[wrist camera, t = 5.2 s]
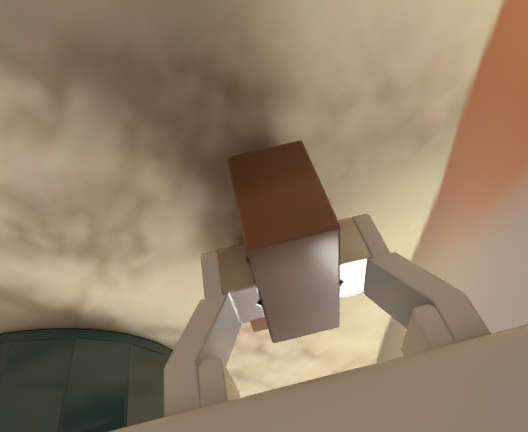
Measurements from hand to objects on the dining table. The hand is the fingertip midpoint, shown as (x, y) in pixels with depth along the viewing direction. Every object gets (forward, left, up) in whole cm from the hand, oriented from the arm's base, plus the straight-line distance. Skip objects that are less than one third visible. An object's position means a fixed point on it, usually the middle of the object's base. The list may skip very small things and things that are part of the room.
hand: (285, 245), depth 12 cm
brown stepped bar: (+2, 0, -2) cm, 3 cm away
